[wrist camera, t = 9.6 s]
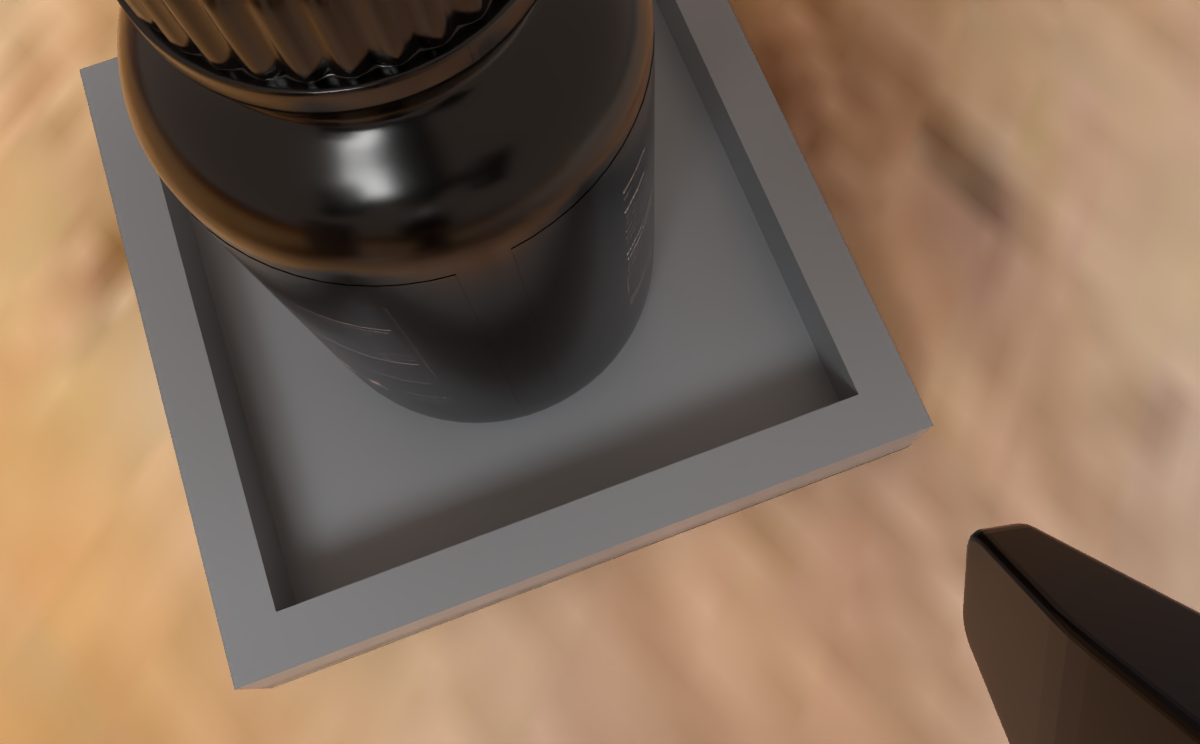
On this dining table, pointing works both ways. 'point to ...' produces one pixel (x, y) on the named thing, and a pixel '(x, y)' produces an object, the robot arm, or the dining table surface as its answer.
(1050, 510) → the dining table surface
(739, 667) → the dining table surface
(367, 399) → the tray
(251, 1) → the supplement bottle
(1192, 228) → the dining table surface
